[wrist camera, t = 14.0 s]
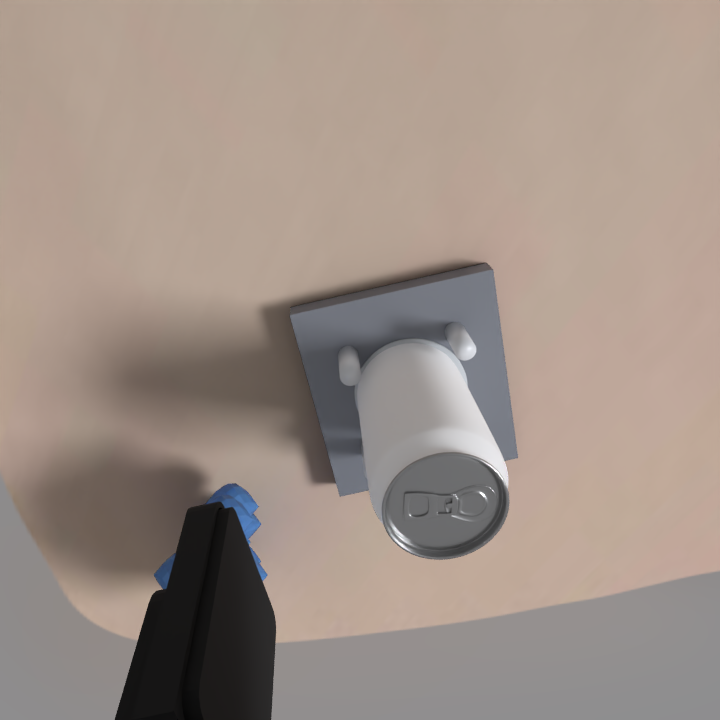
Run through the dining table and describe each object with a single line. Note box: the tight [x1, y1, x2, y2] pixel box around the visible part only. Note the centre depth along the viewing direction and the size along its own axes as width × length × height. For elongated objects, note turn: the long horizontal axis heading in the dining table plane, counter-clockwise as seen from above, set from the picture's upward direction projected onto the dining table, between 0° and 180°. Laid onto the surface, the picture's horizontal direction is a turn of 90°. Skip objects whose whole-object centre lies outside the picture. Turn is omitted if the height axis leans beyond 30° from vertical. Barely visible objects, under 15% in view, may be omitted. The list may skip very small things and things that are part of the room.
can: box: [357, 343, 509, 560], centre depth 32 cm, size 6×6×12 cm
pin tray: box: [290, 263, 518, 496], centre depth 37 cm, size 13×12×4 cm
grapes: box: [154, 483, 267, 589], centre depth 37 cm, size 12×7×12 cm, turn 177°
